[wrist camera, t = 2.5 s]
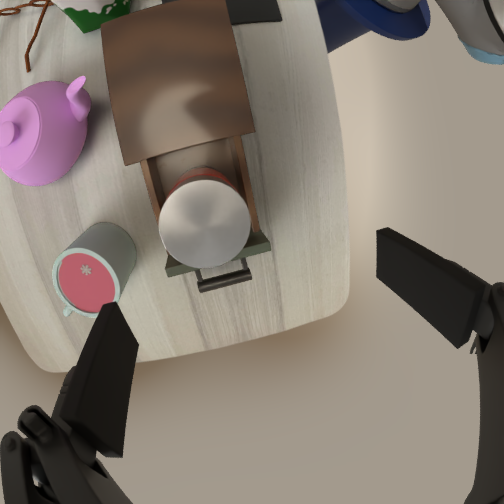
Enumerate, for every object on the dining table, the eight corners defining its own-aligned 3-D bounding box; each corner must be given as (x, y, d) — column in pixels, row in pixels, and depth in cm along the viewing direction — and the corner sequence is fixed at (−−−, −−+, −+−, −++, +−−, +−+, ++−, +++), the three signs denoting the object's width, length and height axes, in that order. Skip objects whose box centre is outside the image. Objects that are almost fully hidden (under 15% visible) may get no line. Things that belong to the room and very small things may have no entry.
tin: (223, 159, 33) (240, 168, 19) (234, 212, 36) (259, 256, 22) (168, 173, 32) (146, 193, 19) (182, 225, 35) (173, 278, 21)
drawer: (264, 260, 40) (277, 282, 34) (181, 282, 39) (179, 307, 33) (234, 114, 32) (242, 107, 26) (139, 139, 31) (126, 138, 24)
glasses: (60, 3, 19) (48, -8, 14) (30, 72, 23) (13, 67, 18) (9, 15, 15) (-5, 8, 11) (-17, 79, 19) (-33, 77, 15)
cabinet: (242, 135, 34) (255, 131, 26) (141, 161, 33) (124, 166, 25) (217, 22, 27) (223, -8, 19) (119, 47, 26) (100, 24, 18)
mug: (101, 209, 34) (73, 231, 25) (148, 251, 38) (134, 284, 28) (59, 273, 36) (32, 306, 27) (101, 308, 39) (83, 347, 30)
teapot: (108, 56, 26) (74, 26, 14) (133, 144, 32) (102, 144, 20) (5, 123, 25) (-45, 125, 13) (27, 201, 30) (-21, 226, 19)
